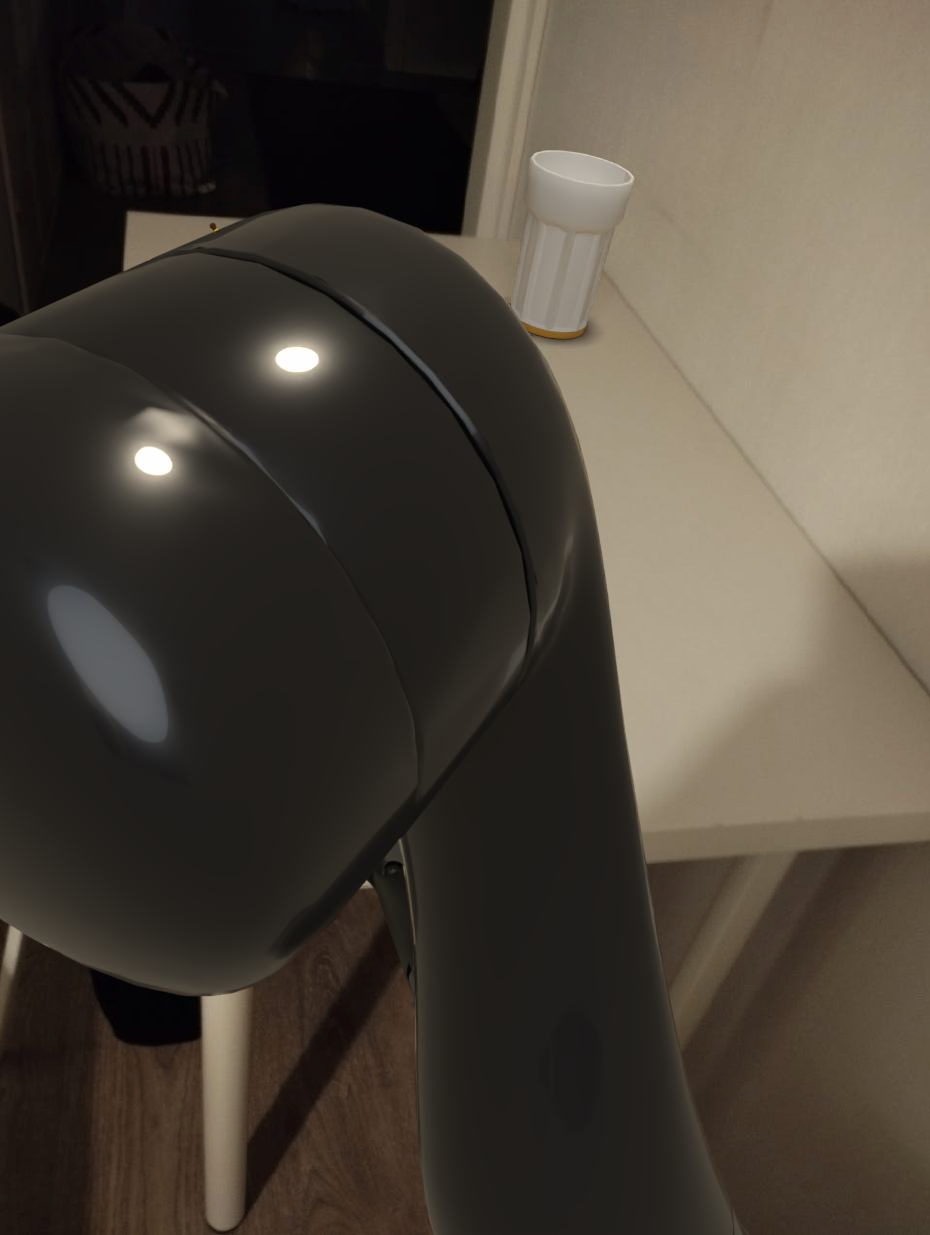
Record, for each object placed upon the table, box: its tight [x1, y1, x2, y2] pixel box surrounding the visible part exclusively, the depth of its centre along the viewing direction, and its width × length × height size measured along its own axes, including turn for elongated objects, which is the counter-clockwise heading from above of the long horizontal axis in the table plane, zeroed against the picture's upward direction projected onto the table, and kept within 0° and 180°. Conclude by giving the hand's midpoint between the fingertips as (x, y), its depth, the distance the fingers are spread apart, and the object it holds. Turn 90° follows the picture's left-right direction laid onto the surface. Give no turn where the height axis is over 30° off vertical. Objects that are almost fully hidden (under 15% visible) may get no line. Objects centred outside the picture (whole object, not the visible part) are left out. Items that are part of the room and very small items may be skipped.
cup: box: [510, 149, 636, 340], centre depth 110 cm, size 11×11×17 cm
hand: (383, 695), depth 52 cm, fingers open, 8 cm apart
